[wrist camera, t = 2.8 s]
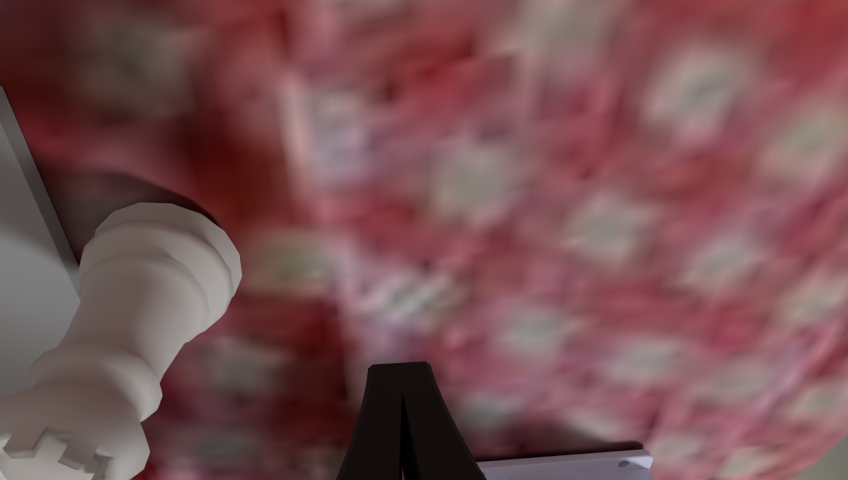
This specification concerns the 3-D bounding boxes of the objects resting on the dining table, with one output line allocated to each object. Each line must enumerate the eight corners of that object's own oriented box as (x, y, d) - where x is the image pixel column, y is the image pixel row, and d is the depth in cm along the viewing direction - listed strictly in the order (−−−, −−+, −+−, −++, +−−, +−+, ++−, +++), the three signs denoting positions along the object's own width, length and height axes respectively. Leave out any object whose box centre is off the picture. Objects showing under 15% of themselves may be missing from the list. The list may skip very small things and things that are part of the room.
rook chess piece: (100, 296, 17) (-75, 545, 10) (95, 180, 15) (-133, 396, 8) (238, 317, 18) (162, 554, 11) (252, 210, 16) (167, 426, 9)
